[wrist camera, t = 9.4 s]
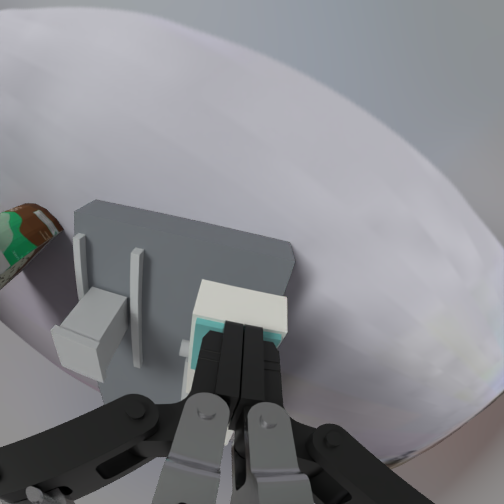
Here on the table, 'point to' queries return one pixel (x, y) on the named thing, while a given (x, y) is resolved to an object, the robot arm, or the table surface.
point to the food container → (24, 237)
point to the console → (164, 285)
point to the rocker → (232, 317)
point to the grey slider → (92, 333)
